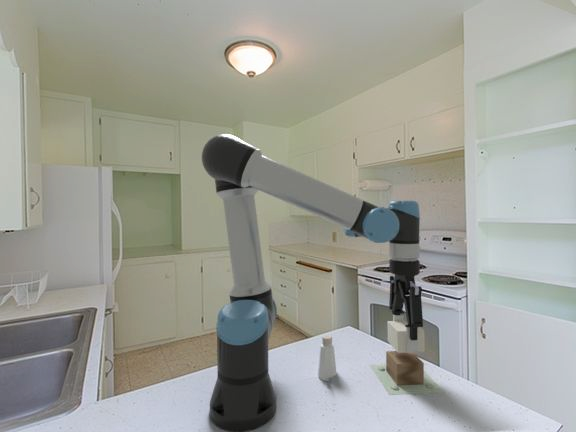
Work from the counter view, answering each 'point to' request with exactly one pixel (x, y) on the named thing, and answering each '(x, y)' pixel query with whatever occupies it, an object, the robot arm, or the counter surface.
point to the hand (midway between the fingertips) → (404, 344)
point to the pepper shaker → (327, 359)
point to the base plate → (393, 389)
